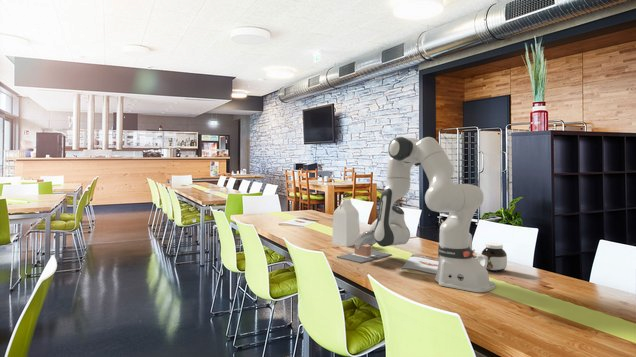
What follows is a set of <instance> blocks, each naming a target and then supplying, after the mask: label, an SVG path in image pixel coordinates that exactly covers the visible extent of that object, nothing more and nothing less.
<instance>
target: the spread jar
mask: <svg viewBox="0 0 636 357" xmlns="http://www.w3.org/2000/svg"><path fill="white" fill-rule="evenodd" d="M474 259H476V260H477V261H478V262H479V263H480V264H481V265H482V266H483V267H485V268H486V269H487V271H488V273H502V272H504V271H505V270H506V268H507V267H508V255H507V252H506V251H505V250H504V247H503V244H502V243H498V242H486V243H485V248H484V249H483V250H482V251H481V255H480V254H478V255H477V256H476V257H474Z"/></svg>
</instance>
